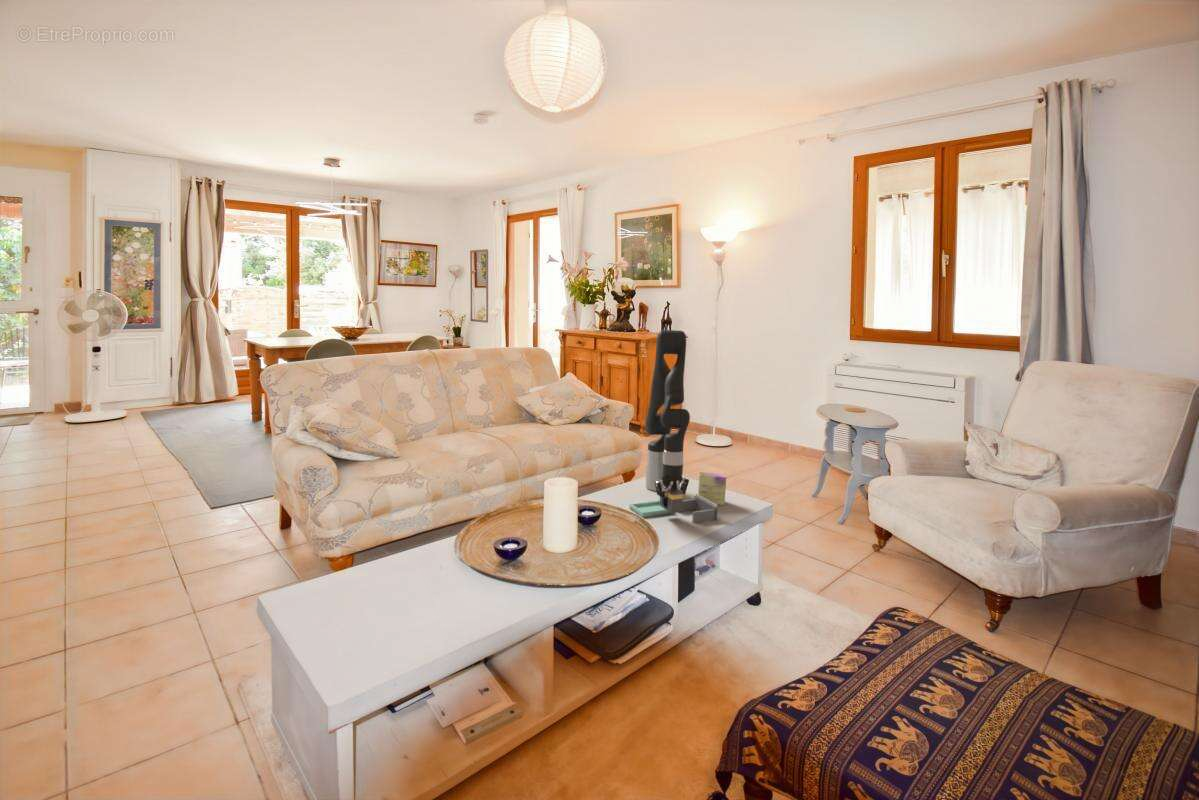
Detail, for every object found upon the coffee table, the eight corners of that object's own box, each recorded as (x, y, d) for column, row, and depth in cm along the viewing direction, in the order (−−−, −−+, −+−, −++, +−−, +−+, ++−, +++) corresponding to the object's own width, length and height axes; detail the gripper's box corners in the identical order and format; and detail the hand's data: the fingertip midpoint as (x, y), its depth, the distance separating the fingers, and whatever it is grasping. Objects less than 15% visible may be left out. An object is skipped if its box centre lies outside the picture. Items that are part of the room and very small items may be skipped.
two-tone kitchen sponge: (659, 505, 225) (660, 486, 224) (669, 504, 227) (670, 485, 226) (671, 513, 217) (672, 493, 215) (682, 511, 219) (683, 492, 217)
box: (723, 500, 245) (725, 473, 243) (724, 505, 239) (726, 477, 237) (697, 499, 246) (699, 471, 244) (698, 503, 240) (700, 475, 238)
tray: (629, 508, 232) (629, 504, 232) (659, 504, 238) (659, 500, 237) (642, 517, 223) (642, 512, 222) (673, 513, 228) (673, 508, 228)
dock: (674, 510, 231) (675, 496, 230) (696, 508, 235) (697, 494, 234) (694, 523, 219) (694, 507, 218) (716, 519, 223) (717, 505, 222)
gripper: (684, 457, 225) (681, 501, 228) (651, 461, 219) (649, 505, 222) (694, 463, 218) (692, 507, 221) (661, 466, 213) (659, 511, 215)
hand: (670, 506), depth 222 cm, fingers closed on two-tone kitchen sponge, 4 cm apart
